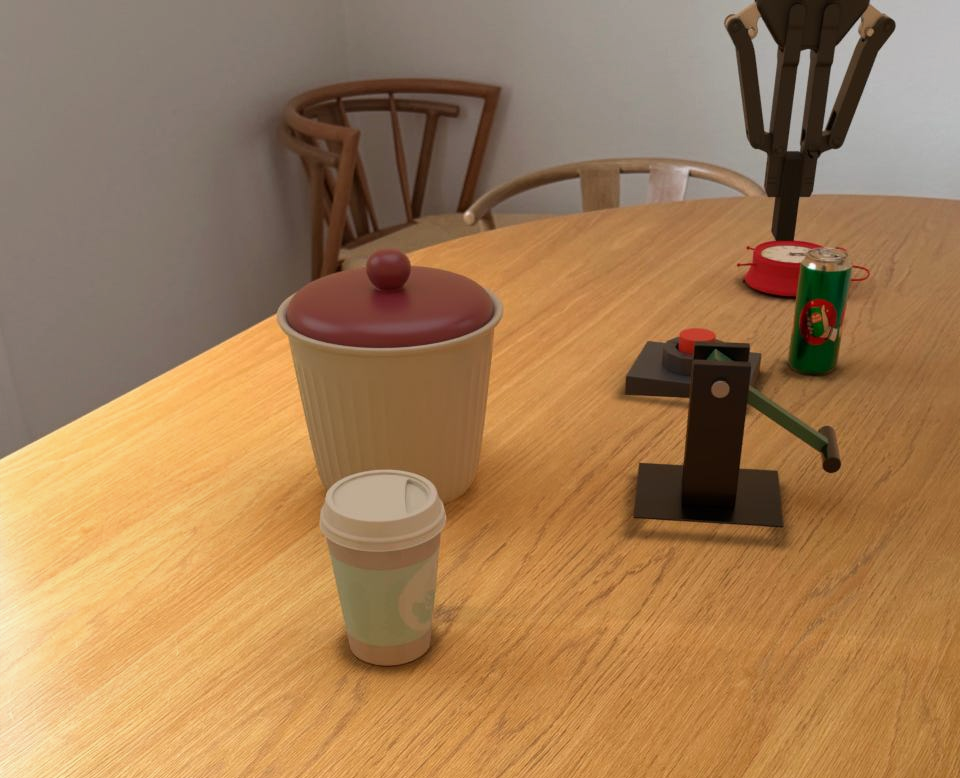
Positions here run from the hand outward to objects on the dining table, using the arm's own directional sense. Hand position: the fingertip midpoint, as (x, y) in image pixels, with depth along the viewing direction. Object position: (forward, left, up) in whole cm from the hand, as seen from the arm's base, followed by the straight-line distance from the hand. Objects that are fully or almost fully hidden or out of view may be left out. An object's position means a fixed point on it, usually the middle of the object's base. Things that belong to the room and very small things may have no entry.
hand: (782, 235), depth 105 cm
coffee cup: (+20, +40, -20) cm, 49 cm away
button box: (+8, -13, -20) cm, 25 cm away
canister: (+28, +18, -20) cm, 39 cm away
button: (+8, -13, -16) cm, 22 cm away
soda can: (-3, -21, -20) cm, 29 cm away
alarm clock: (+1, -47, -20) cm, 51 cm away
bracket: (+2, +13, -20) cm, 24 cm away
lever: (-1, +12, -11) cm, 17 cm away
